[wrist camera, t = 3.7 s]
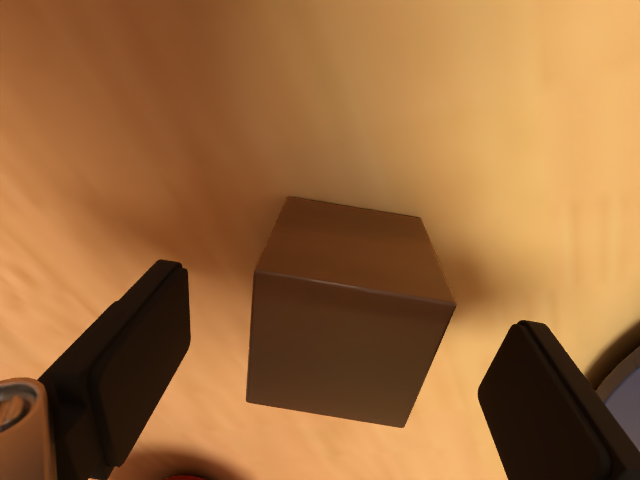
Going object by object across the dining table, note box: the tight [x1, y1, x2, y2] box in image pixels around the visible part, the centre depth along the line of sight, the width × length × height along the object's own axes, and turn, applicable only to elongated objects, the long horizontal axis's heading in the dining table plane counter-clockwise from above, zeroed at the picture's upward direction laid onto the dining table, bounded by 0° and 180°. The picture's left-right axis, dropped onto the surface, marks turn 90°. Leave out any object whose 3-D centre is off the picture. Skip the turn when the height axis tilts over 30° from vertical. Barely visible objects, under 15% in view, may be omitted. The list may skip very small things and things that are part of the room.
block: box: [246, 197, 456, 428], centre depth 11 cm, size 4×4×4 cm
